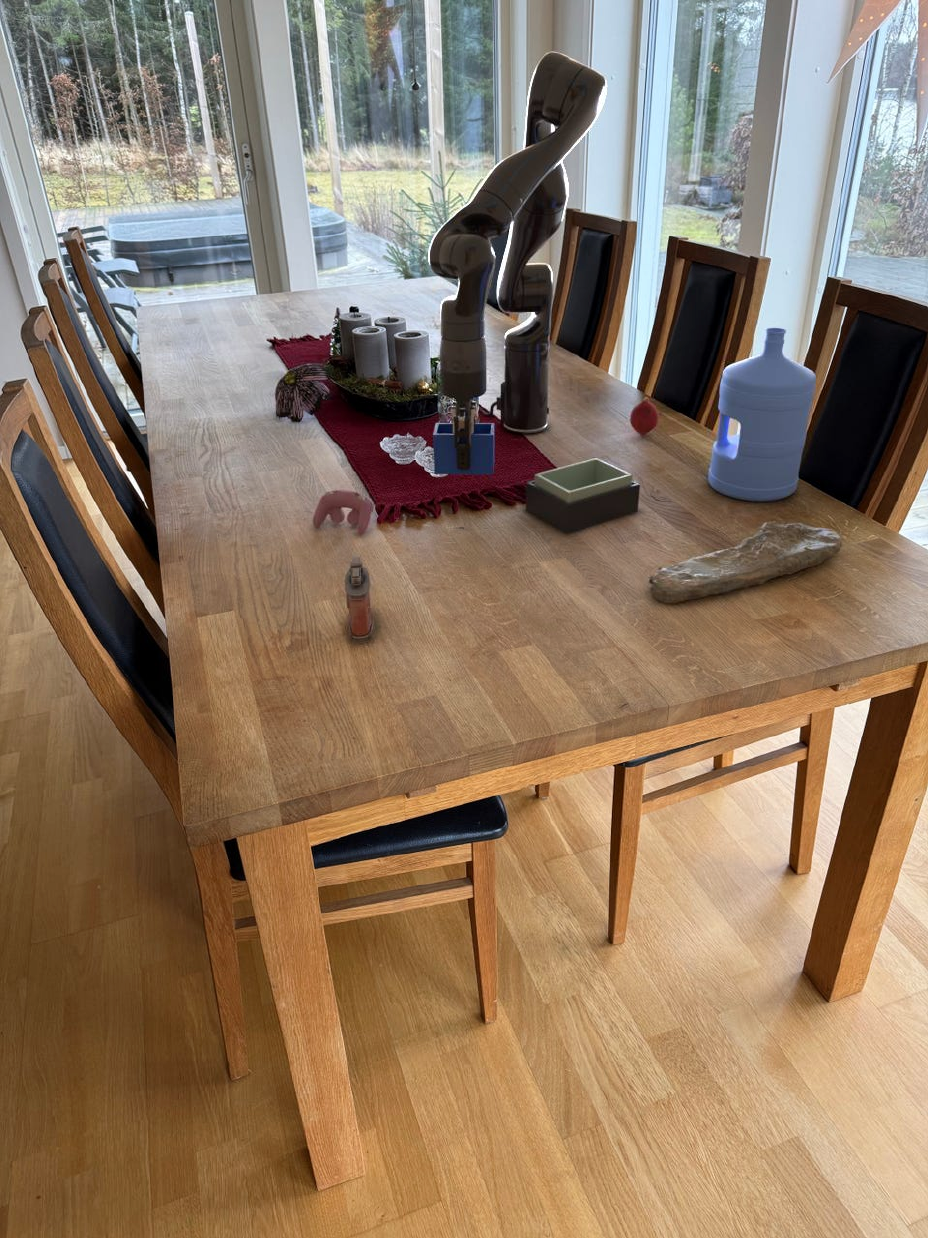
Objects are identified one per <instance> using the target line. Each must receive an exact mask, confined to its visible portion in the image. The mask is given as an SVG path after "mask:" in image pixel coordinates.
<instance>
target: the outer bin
mask: <svg viewBox="0 0 928 1238" xmlns="http://www.w3.org/2000/svg"><path fill="white" fill-rule="evenodd" d="M640 489H641V483H638V482H637V481H634V480H632V485H630V486H626V487H623V488H620V489H616V490H613V491H609V492H606V493H602V494H599V495H596V496H592V497H589V498H585V499H582V500H578V501H575V502H572V503H566V502H564V501H563V500H561V499H559V498H557V497H555V496H554V495H552V494H550V493H548V492H546V491H545V490H543V489H541V488H539V487H537V486H536V485H534V480H530V481H527V482H526V483H525V511H526V512H528V513H530V514H532V515H533V516H535V517H537V518H538V519H540V520H541V521H543V522H545V523H547V524H549V525H550V526H552V527H553V528H555V529H557V530H558V531H561V532H562V533H564V534H566V535H567V534H570V533H574V532H578V531H580V530H585V529H588V528H590V527H593V526H596V525H601V524H603V523H606V522H610V521H613V520H616V519H619V518H623V517H626V516H629V515H633V514H636V513H638V512H639V501H640V491H641V490H640Z"/></svg>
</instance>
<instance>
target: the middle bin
mask: <svg viewBox="0 0 928 1238" xmlns="http://www.w3.org/2000/svg"><path fill="white" fill-rule="evenodd" d="M533 481H534V485H536V486H537V487H539V488H541V489H543V490H545V491H546V492H548V493H550V494H552V495H554V496H555V497H557V498H559V499H561V500H563V501H564V502H566V503H572V502H575V501H578V500H582V499H585V498H589V497H592V496H596V495H599V494H602V493H606V492H609V491H613V490H616V489H620V488H623V487H626V486H630V485H632V481H633V474H632V473H629V472H628V471H625V470H623V469H621V468H619V467H617V466H615V465H612V464H611V463H608V462H606V461H604V460H602V459H601V458H598V457H595V458H594V457H593V458H591V459H587V460H584V461H579V462H576V463H573V464H569V465H568V464H567V465H565V466H560V467H557V468H553V469H550V470H546V471H542V472H538V473H535V474H534V480H533Z"/></svg>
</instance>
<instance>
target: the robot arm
mask: <svg viewBox="0 0 928 1238" xmlns="http://www.w3.org/2000/svg"><path fill="white" fill-rule="evenodd" d="M607 84H608V83H607V80H606V78H605V76H604V75H603V74H602V73H600V72H599V71H597V70H595V69H593V68H592V67H590V66H587V65H586V64H583V63H581V62H580V61H577V60H576V59H574V58H571V57H570V56H568V55H566V54H563V53H562V52H561V53H560V52H557V51H550V52H546V53H545V54H544V55H543V56H542V58H541V59H540V60H539V62H538V64H537V65H536V67H535V70H534V72H533V75H532V78H531V81H530V86H529V89H528V95H527V103H526V104H527V105H526V113H525V114H526V116H525V129H524V139H523V149H521V150H519V151H517V152H515V153H512V154H511V155H509V156H507V157H505V158H504V159H502V160H501V161H500V162H499V163H497V164H496V165H495V166H494V167H493V169H491V170H490V171H489V173H488V174H487V176H486V177H485V179H484V180H483V181H482V183H481V185H480V186H479V187H478V189H477V190H476V192H475V194H474V195H473V197H472V199H471V200H470V201H469V202H467V203H466V204H465V205H464V206H463V207H462V208H460V209H459V210H457V212H456V213H455V214H454V215H452V217H450V218H449V219H448V220H447V221H446V222H445V223H444V224H442V226H441V227H440V228H439V229H438V231H437V232H436V233H435V234H434V236H433V238H432V240H431V243H430V245H429V248H428V263H429V267H430V269H431V270H432V272H433V273H434V274H436V275H437V276H438V277H440V278H443V279H447V280H452V281H458V288H457V292H456V294H455V295H450V296H448V297H445V298H444V299H443V300H442V301H441V304H440V308H439V309H440V310H439V312H440V313H439V315H440V317H439V318H440V321H439V322H440V345H439V371H440V374H439V375H440V393H442V394H443V395H445V396H447V397H446V398H448V397H449V398H448V399H452V398H454V399H453V400H455V399H456V400H455V401H452V406H451V413H450V414H451V417H452V423H453V433H454V434H455V444H454V447H455V449H457V469H458V470H469V469H470V449H471V435H472V434H473V433H474V424H475V423H476V413H477V409H476V405H477V401H474V398H475V399H477V398H480V397H483V396H484V395H486V392H487V345H486V333H485V332H486V328H485V327H486V326H485V324H486V323H485V321H486V320H485V319H486V316H485V315H486V314H485V313H486V311H485V310H486V306H487V302H488V299H489V294H490V290H491V287H492V286H491V285H492V282H493V278H494V275H495V268H496V255H495V251H494V247H493V243H491V241H490V239H493V238H498V237H501V236H502V235H504V234H505V233H506V232H507V231H508V230H509V232H508V238H507V243H506V247H505V250H504V254H503V258H502V261H501V265H500V269H499V272H498V276H497V277H498V278H497V285H496V300H497V304H498V307H499V309H500V311H502V312H503V313H506V314H510V315H511V314H513V315H514V314H517V315H518V314H531V315H530V317H528V318H527V320H525V321H524V322H522V323H520V324H519V325H516V326H514V327H512V328H510V329H508V330H507V331H506V333H504V334H505V335H504V357H503V359H504V366H503V367H504V368H503V369H504V374H503V375H504V376H503V377H504V380H503V381H501V382H500V395H499V396H496V401H494V402H492V404H491V405H490V409H489V412H486V411H484V410H483V409H482V408H481V407H480V406H479V411H478V412H479V413H481V414H483V415H485V416H487V417H491V416H493V414H494V410H495V407H496V410H497V411H500V426H501V427H503V428H504V430H506V431H508V432H510V433H515V434H520V435H521V434H523V435H524V434H525V435H527V434H536V433H540V432H543V431H545V430H546V429H547V428H548V415H550V408H549V407H548V400H549V373H550V372H549V371H550V369H549V367H550V366H549V365H550V340H551V339H550V337H551V329H552V328H551V327H552V326H551V325H552V311H553V299H554V274H553V271H552V268H551V266H550V265H549V264H548V263H545V262H535V263H534V262H533V263H528V262H529V261H530V260H531V258H532V257H533V256H534V255H536V253H537V252H538V251H539V250H541V248H543V247H544V246H545V245H546V244H548V242H549V241H550V239H552V238H553V237H554V236H555V234H556V233H557V232H558V230H559V229H560V227H561V225H562V222H563V219H564V215H565V210H566V206H567V203H568V200H569V199H568V198H569V182H568V177H567V174H566V173H567V172H566V169H565V167H564V164H563V160H564V159H565V158H566V156H567V155H568V154H569V153H570V152H571V151H572V149H574V147H575V146H576V145H577V144H578V143H579V142H580V140H582V138H583V137H584V136H585V135H586V133H588V131H589V130H590V128H592V126H593V124H594V123H595V121H596V120H597V118H598V116H599V114H600V112H601V110H602V108H603V105H604V103H605V99H606V95H607V87H608V85H607ZM555 127H556V128H555ZM451 397H452V398H451ZM459 437H466V438H467V442H459Z"/></svg>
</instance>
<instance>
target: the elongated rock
mask: <svg viewBox="0 0 928 1238" xmlns="http://www.w3.org/2000/svg"><path fill="white" fill-rule="evenodd" d="M842 545H843V542H842V537H841V535H840V534H838V532H836V531H834V530H832V529H829V528H825V527H814V526H812V527H811V526H810V525H806V524H803V523H801V522H799V523H797V522H796V523H793V522H792V523H785V524H783V523H778V522H777V521H776V520H772V521H766V522H765V521H764V523H763V524H762V526H761V527H760V530H759V531H758V532H756V533H755V534H754V535H753V536H750V537H749V536H748V537H746V538H745V539H743V540H742V542H741V543H740V544H737V546H731V547H729V548H725V549H724V548H723V549H719V550H716V551H715V550H714V551H710V552H708V553H706V554H703V555H701V556H695V557H692V558H688V559H686V560H685V561H678V562H676V563H673V564H671V565H668V566H663V567H662V566H660V567H658V570H657V571H656V572H655V573H654V574H652V575H650V576H649V579H648V583H649V585H651V586H650V590H649V592H650V595H651V596H652V597H653V598H654V599H656V600H657V601H659V602H661V603H664V604H669V605H671V604H678V603H681V602H683V601H688V600H692V599H693V600H694V599H700V598H704V597H705V596H706V597H708V596H713V595H717V594H726V593H729V592H731V591H733V590H736V589H737V590H738V589H742V588H743V589H746V588H749V587H750V586H756V585H762V584H763V585H764V584H765V583H766V582H768V581H769V580H772V579H775V578H777V577H783V575H786V576H787V575H792V574H795V573H797V572H799V571H801V570H804V569H807V568H810V567H814V566H818V565H820V564H823V561H825V560H828V559H830V558H832V557H834V556H835V555H836V554H837V553H839V552H840V551H841V548H842Z"/></svg>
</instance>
